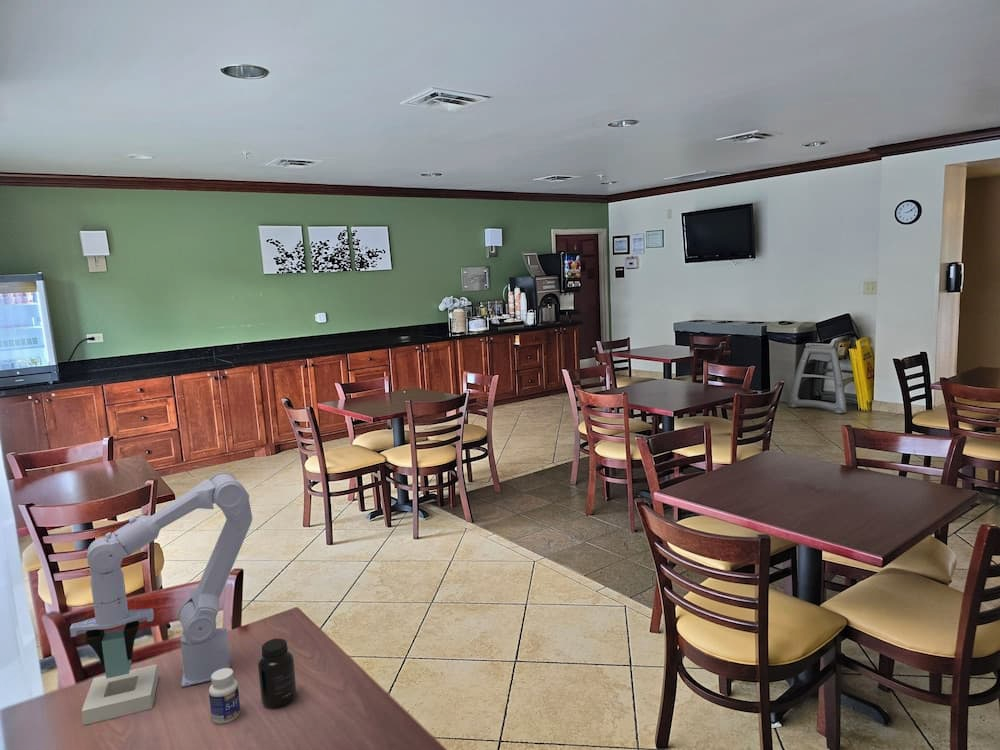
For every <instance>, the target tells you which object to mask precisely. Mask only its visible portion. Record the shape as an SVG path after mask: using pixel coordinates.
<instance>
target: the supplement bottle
mask: <svg viewBox="0 0 1000 750" xmlns="http://www.w3.org/2000/svg"><path fill="white" fill-rule="evenodd" d="M294 661H295V660H294V656H293V654H292V653H291V652H290V651H289V648H288V644H287V640H285V639H284V638H280V637H279V638H273V639H269V640H267V641H266V642H264V643H263V644H262V646H261V658H260V659H259V660H258V665H257V669H258V678H259V679H258V680H259V687H260V688H259V689H260V697H261V704H262V705H263V706H264V707H265V708H267V709H273V710H274V709H280V708H283V707H287V706H288V705H289V704H291V703H292V702H294V700H295V698H296V697H297V684H296V672H295V662H294Z"/></svg>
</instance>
